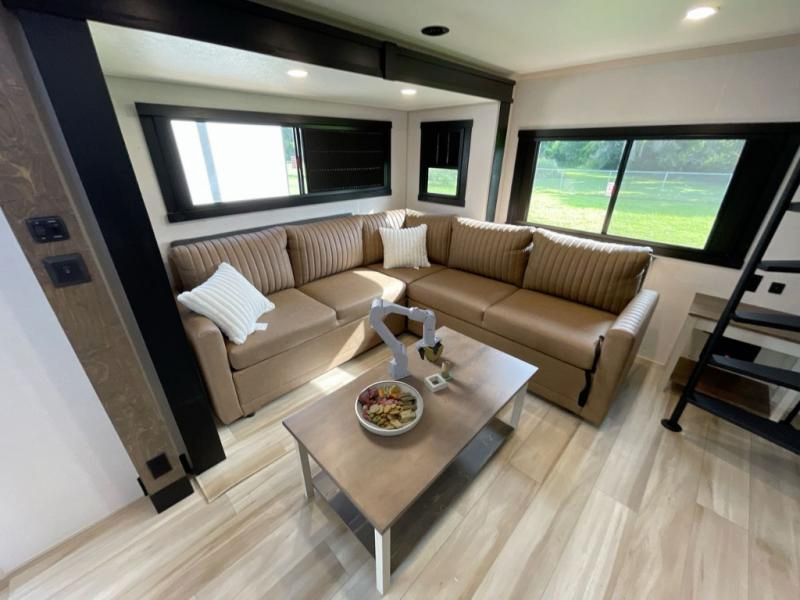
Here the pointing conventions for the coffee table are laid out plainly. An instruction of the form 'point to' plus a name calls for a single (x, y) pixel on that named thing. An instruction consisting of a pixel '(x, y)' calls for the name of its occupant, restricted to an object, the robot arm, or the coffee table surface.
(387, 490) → the coffee table surface
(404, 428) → the bowl
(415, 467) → the coffee table surface
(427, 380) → the socket block
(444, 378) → the pad
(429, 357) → the flower pot
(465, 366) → the coffee table surface
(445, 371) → the dowel
